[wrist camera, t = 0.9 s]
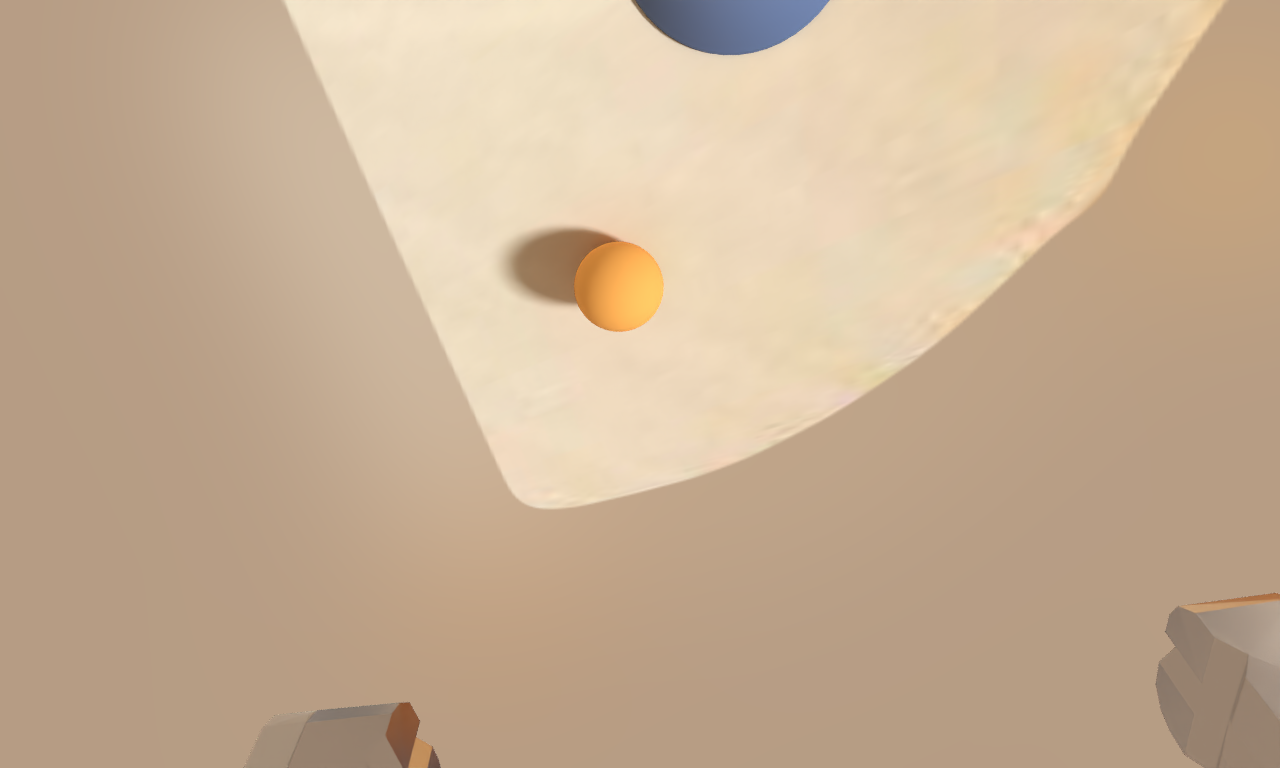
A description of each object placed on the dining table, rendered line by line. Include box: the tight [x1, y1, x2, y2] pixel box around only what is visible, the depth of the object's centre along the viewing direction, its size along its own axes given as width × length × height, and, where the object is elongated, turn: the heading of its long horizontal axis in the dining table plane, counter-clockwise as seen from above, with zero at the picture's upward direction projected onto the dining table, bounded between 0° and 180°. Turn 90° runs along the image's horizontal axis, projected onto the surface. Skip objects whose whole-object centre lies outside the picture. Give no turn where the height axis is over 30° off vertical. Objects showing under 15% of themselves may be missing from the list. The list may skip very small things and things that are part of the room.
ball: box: [574, 242, 663, 332], centre depth 50 cm, size 6×6×6 cm
